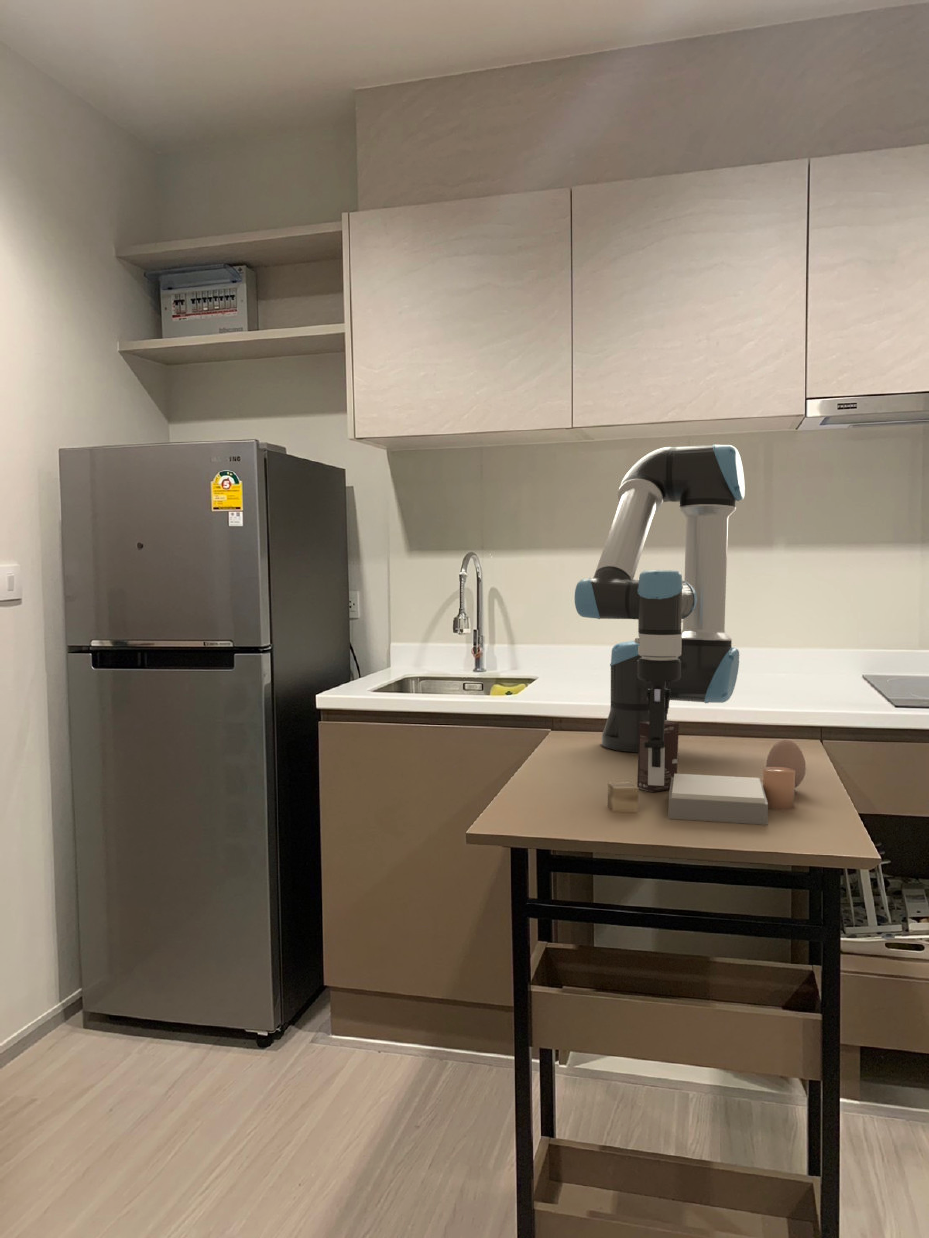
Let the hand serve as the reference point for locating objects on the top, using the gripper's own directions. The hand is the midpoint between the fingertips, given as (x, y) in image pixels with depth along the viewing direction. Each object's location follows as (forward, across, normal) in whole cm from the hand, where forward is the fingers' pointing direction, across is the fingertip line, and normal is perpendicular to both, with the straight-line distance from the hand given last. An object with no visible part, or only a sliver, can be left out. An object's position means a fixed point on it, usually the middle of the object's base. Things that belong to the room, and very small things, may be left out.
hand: (657, 776), depth 172 cm
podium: (+2, +12, +10) cm, 16 cm away
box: (+2, 0, 0) cm, 2 cm away
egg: (+2, -4, +22) cm, 22 cm away
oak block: (+2, +15, -5) cm, 16 cm away
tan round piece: (+2, +7, +20) cm, 21 cm away
